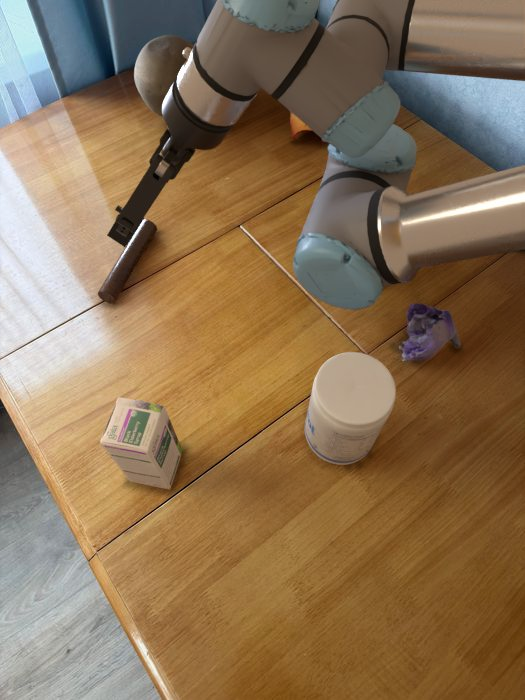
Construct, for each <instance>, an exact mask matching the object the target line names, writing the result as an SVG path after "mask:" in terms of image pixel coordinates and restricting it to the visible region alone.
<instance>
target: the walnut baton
mask: <svg viewBox="0 0 525 700" xmlns="http://www.w3.org/2000/svg"><path fill="white" fill-rule="evenodd" d="M157 232H158V226H157V225H156V223H155V222H153V221H152V220H150V219H145V218H144V220H143V222H142V223H141V224H140V226H139V227H138V229H137V231H136V232H135V233H134V235H133V236H132V238H131V239H130V241H129V242H128V244H127V245H126V247H124V248H123V251H122V252H121V254H120V255H119V257H118V259H117V260H116V262H115V263H114V265H113V267H112V269H111V270H110V272H109V273H108V275H107V277H106V278H105V280H104V281H103V283H102V285H101V287H100V288H99V290H98V291H97V296H98V297H99V299H101V301H103V302H105V303H107V304H111V305H112V304H115V303H116V302H117V301H118V299H119V297H120V295H121V294H122V292H123V290H124V289H125V287H126V285H127V283H128V282H129V280H130V278H131V277H132V275H133V273H134V272H135V271H136V270H135V269H136V267H138V264H139V263H140V261H141V259H142V257H143V256H144V254H145V252H146V251H147V249H148V247H149V245H150V243H151V242H152V240H153V238H154V237H155V235H156V233H157Z"/></svg>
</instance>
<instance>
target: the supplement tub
mask: <svg viewBox="0 0 525 700" xmlns="http://www.w3.org/2000/svg"><path fill="white" fill-rule="evenodd" d="M396 389H397V387H396V383H395V379H394V377H393V374H392V373H391V372H390V370H389V369H388V368H387V367H386V365H385V364H383V363H382V362H381V361H380V360H378V359H377V358H376V357H373V356H371V355H370V354H366V353H363V352H356V351H347V352H342V353H339V354H338V353H337V354H335V355H333V356H332V357H330V358H328V359H327V360H325V362H324V363H322V365H321V366H320V367H319V369H318V371H317V373H316V375H315V377H314V379H313V384H312V388H311V391H310V392H311V393H310V397H309V402H308V407H307V412H306V416H305V417H306V418H305V423H304V435H305V438H306V441H307V445H308V446H309V448H310V449H311V451H312V452H313V453H314V454H315V455H316V456H317V457H318V458H320V459H321V460H323V461H325V462H327V463H329V464H333V465H337V466H338V465H339V466H345V465H352V464H355V463H356V462H359V461H360V460H362V459H363V458H365V457H366V456H367V455H368V454H369V452H370V451H371V449H372V447H373V446H374V444H375V443H376V440H377V438H378V437H379V435H380V434H381V431H382V430H383V428H384V426H385V424H386V422H387V420H388V418H389V417H390V415H391V413H392V411H393V409H394V406H395V401H396V395H397V390H396Z"/></svg>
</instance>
